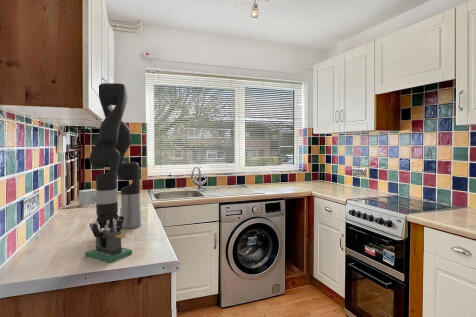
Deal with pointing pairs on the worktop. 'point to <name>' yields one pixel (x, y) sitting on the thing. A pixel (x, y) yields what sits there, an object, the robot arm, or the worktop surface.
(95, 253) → the header board
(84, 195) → the skincare box
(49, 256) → the worktop surface
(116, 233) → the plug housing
